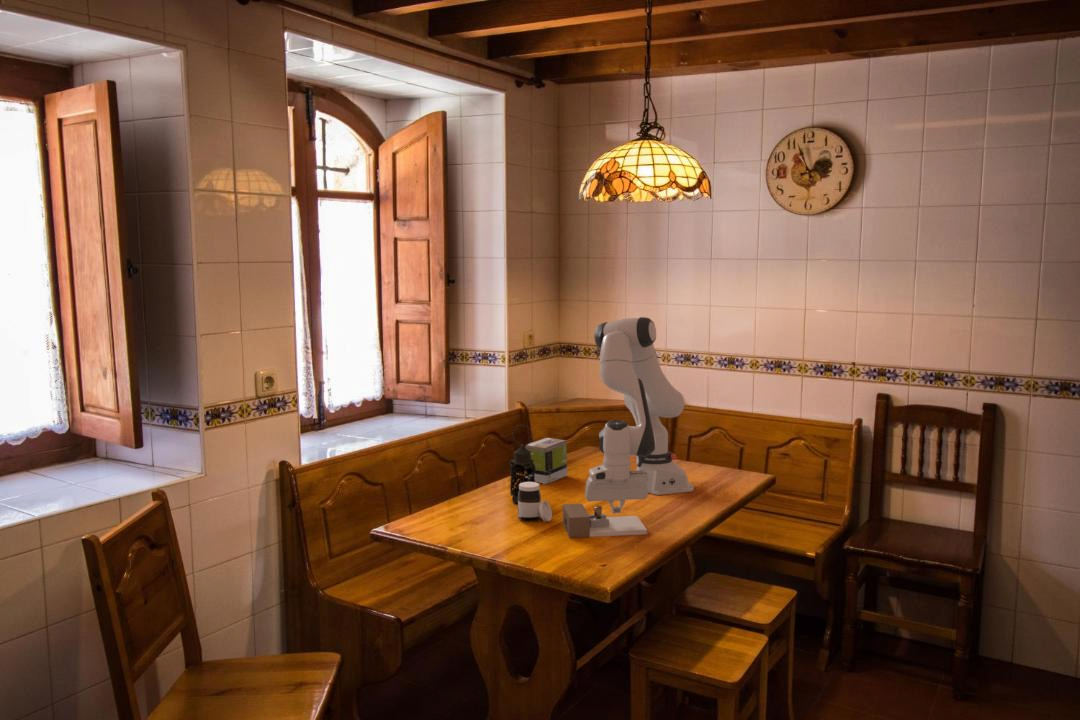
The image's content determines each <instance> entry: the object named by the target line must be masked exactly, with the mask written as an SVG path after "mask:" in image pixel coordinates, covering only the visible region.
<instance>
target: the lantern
mask: <svg viewBox="0 0 1080 720" xmlns="http://www.w3.org/2000/svg"><path fill="white" fill-rule="evenodd" d="M519 426H522V427H526V428H528V429H529V431H530V433H531V435H533V431H532V429H531V428H530V427H529V426H527V425H525V424H519V425H516V426H515V427H514V428H513V430H512V439H513V441H514V442H515V443H516V445H519V446H520V447H519V448H518V449H516V450H515V451H514V452H513V454H514V456H513V459H510V460H509V468H510V488H509V491H510V493H509V494H510V496H511V501H513V504H515V503H518V492H519V490H520V489H519V484H520V483H523V482H535V470H536V468H535V464H534V463H533V461H534V460H532V459H531V454H530V453H531V451H529V450H527V449H526V448H525V445H528V444H530V443H532V441H533V437H531V439H530V441H529V442H528V443H526V444H523V443H522V444H520V443H518V442H517V441H516V440H515V438H514V432H515V430H516V428H518V427H519ZM526 465H527V466H526ZM526 469H527V470H526ZM526 471H527V473H526ZM532 471H533V473H532ZM529 475H532V477H531V476H529ZM526 476H528V478H526ZM529 478H530V479H529ZM528 479H529V480H528Z"/></svg>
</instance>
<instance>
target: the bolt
mask: <svg viewBox="0 0 1080 720" xmlns="http://www.w3.org/2000/svg"><path fill="white" fill-rule="evenodd" d="M602 509H603V506H601V505H595V506H594V509H593V510H594V511H593V514H594V518H590V519H604V518H603V517H602V514H603V510H602Z"/></svg>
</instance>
